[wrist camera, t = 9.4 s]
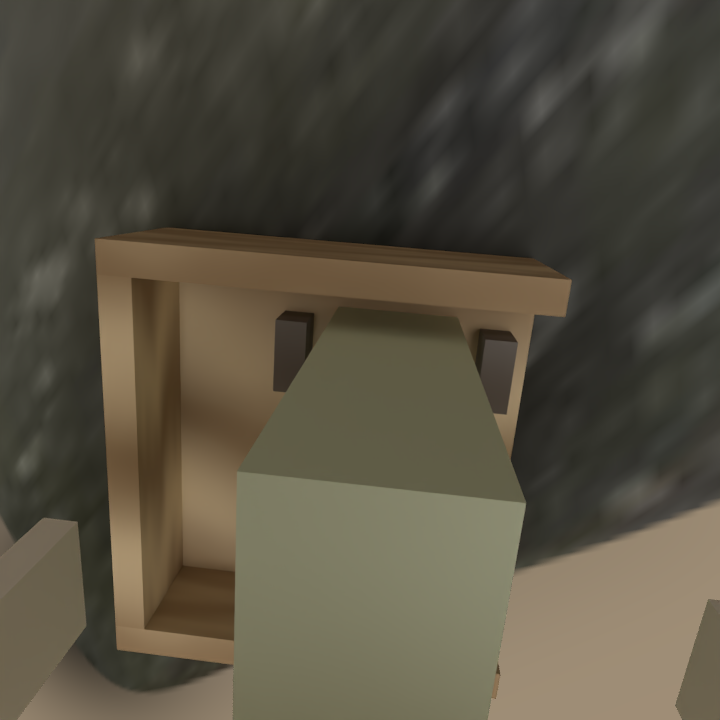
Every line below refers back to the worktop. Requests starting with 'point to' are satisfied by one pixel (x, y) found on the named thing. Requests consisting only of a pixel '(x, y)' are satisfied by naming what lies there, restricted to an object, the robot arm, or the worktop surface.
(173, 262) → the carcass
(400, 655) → the door
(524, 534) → the worktop surface
